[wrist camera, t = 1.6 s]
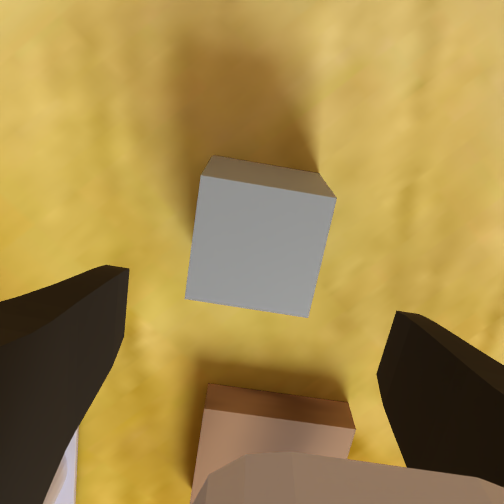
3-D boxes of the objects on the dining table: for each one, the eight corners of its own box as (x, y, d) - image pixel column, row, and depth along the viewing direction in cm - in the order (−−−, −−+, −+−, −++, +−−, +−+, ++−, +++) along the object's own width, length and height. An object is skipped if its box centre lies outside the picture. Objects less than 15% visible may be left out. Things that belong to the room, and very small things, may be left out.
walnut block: (193, 483, 28) (187, 519, 26) (209, 378, 26) (204, 408, 23) (317, 499, 29) (323, 536, 26) (346, 397, 26) (355, 429, 24)
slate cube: (199, 254, 23) (184, 298, 18) (213, 154, 21) (200, 175, 16) (297, 269, 23) (308, 318, 18) (318, 173, 21) (336, 197, 16)
